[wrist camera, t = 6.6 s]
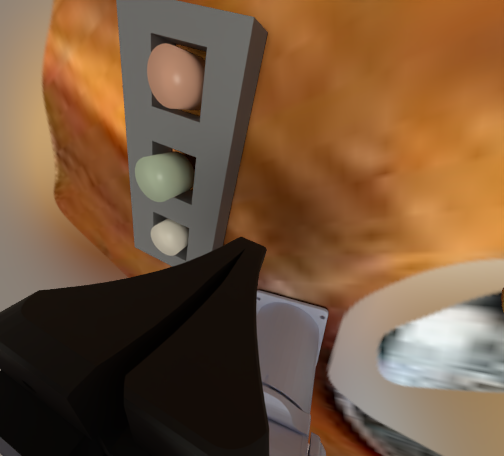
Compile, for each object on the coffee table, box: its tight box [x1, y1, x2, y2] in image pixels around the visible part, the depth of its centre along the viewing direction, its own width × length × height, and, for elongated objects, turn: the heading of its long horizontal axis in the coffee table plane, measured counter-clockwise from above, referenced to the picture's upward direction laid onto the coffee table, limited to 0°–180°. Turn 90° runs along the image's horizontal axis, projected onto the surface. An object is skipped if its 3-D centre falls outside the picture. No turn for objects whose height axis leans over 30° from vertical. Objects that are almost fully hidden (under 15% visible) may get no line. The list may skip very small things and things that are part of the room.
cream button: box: [151, 219, 189, 256], centre depth 23 cm, size 4×4×3 cm
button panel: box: [116, 0, 268, 266], centre depth 20 cm, size 22×10×2 cm, turn 165°
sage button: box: [135, 152, 195, 202], centre depth 18 cm, size 4×4×3 cm
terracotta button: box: [147, 43, 206, 110], centre depth 15 cm, size 4×4×3 cm
